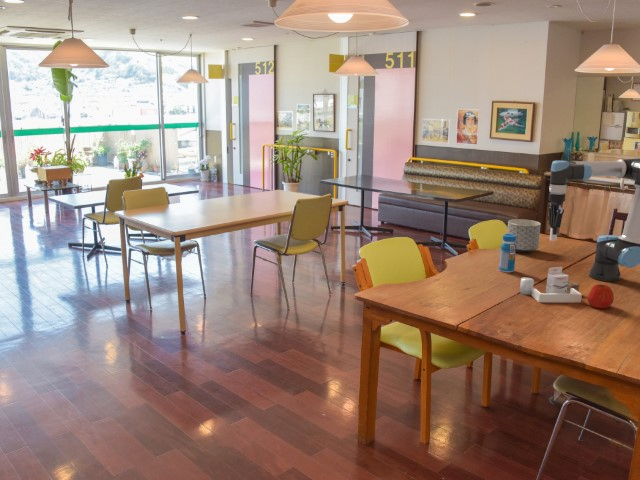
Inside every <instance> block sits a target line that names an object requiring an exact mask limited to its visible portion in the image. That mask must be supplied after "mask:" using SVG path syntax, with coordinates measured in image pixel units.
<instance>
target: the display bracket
mask: <svg viewBox="0 0 640 480" xmlns="http://www.w3.org/2000/svg"><path fill="white" fill-rule="evenodd" d="M582 296H583V294H582V293H581V292H580V291H577V290H575V289H574V288H571V291H570V293H546V292H545V293H544V292H543V293H542V292H540V291H539V290H538V289H537V288H536V287H533V288H532V295H531V297H533V299H535V301H537V302H538V303H582Z"/></svg>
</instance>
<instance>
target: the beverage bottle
mask: <svg viewBox="0 0 640 480" xmlns="http://www.w3.org/2000/svg"><path fill="white" fill-rule="evenodd" d="M515 241H516V236H515V235H513V234H507V233H505V234H503V235H502V243H501V245H500V250H499V264H498V270H499V271H500V272H503V273H513V272H515V267H516V266H515V265H516V264H515V263H516V255H517V252H516V245H515V243H514V242H515Z"/></svg>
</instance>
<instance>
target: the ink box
mask: <svg viewBox="0 0 640 480" xmlns="http://www.w3.org/2000/svg"><path fill="white" fill-rule="evenodd" d="M547 273H548V274H547V278H546V288H545V293H566V292H567V284H568V282H569V274H566V273H564V272H563V266H555V267H549V268H548V272H547Z"/></svg>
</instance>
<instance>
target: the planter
mask: <svg viewBox="0 0 640 480" xmlns="http://www.w3.org/2000/svg"><path fill="white" fill-rule="evenodd" d="M541 226H542V225H541V222H539V221H536V220H532V219H522V218H519V219H518V218H514V219H509V220H508V222H507V229H506V230H507V232H506V234H513V235H515V236H516V241H515V242H514V243H515V245H516V253H523V254H524V253H525V254H527V253H530V252H532V251H535V250H538V249H539V244H540V236H541V235H540V234H541Z"/></svg>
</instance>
